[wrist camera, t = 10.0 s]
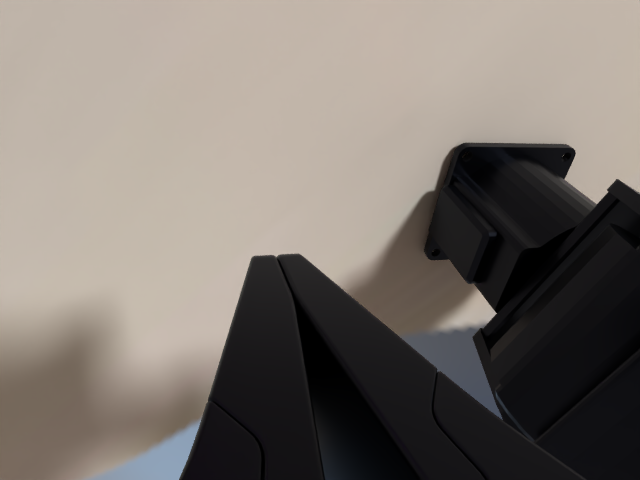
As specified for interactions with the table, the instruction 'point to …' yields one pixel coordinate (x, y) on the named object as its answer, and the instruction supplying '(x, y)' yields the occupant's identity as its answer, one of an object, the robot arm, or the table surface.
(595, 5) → the table surface
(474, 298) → the table surface
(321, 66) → the table surface
